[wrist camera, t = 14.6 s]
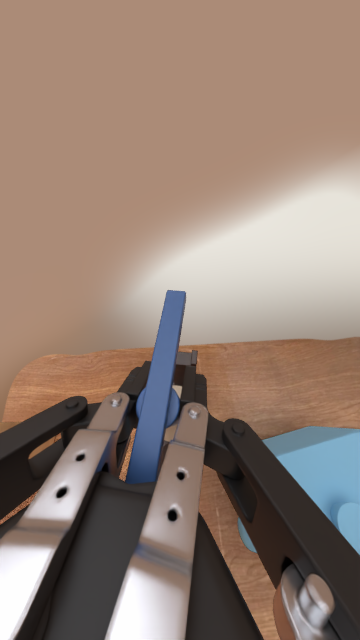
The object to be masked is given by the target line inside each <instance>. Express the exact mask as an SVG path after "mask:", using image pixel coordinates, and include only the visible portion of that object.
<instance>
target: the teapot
mask: <svg viewBox="0 0 360 640" xmlns="http://www.w3.org/2000/svg"><path fill="white" fill-rule="evenodd" d="M262 441H263V442H264V444H265V445H266V446H267V447H268V448H269V450H270V451H271V452H272V453H273V454H274V455H275V457H276V458H277V459H278V460H279V461H280V462H281V464H282V465H283V466H284V467H285V468H286V469H287V471H288V472H289V473H290V474H291V475H292V476H293V478H294V479H295V480H296V481H297V482H298V483H299V485H300V486H301V487H302V488H303V489H304V491H305V492H306V493H307V494H308V495H309V496H310V498H311V499H312V500H313V501H314V502H315V503H316V505H317V506H318V507H319V508H320V509H321V510H322V512H323V513H324V514H325V515H326V516H327V517H328V519H329V520H330V521H331V522H332V523H333V524H334V526H335V527H336V528H337V529H338V530H339V532H340V533H341V534H342V535H343V536H344V537H345V539H346V540H347V541H348V542H349V543H350V544H351V546H352V547H353V548H354V549H355V550H356V551H357V553H358V554H359V555H360V429H348V428H333V427H317V426H309V427H305V428H302V429H298V430H295V431H291V432H288V433H285V434H281V435H278V436H274V437H271V438H268V439H264V440H262ZM238 530H239V533H240V537H241V539H242V541H243V543H244V545H245V546H246V547H247V548H248V549H249V550H250V551H252V552H255V553H257V552H256V550H255V548H254V546H253V544H252V542H251V540H250V538H249V536H248V534H247V532H246V530H245V528H244V526H243V524H242V522H241V520H240V518H239V517H238Z"/></svg>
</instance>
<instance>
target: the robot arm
mask: <svg viewBox="0 0 360 640" xmlns="http://www.w3.org/2000/svg"><path fill="white" fill-rule="evenodd" d="M150 366H151V361H145V362H144V364H143V366H142V367H136V368H135V369H133V370H132V371H131V372H130V374H129V376H128V377H127V378H126V380H125V381H124V383H123V384H122V385H121V387H120V388H119V390H118V391H117V393H112V394H110V395H108V396H107V397H106V398H105V399H104V400H103V402H101V403H93V404H87V399H86V398H85V397H83V396H74V397H70V398H68V399H66V400H64V401H62V402H60V403H58V404H56V405H54V406H52V407H50V408H48V409H46V410H44V411H42V412H41V413H39V414H37V415H35V416H33V417H31V418H29V419H27V420H25V421H23V422H21V423H19V424H17V425H15V426H13V427H12V428H10V429H8V430H6V431H4V432H2V433H0V520H1V519H2V518H4V517H5V516H6V515H7V514H9V513H10V512H11V511H12V510H14V509H15V508H16V507H17V506H19V505H20V504H21V503H22V502H24V501H25V500H26V499H27V498H29V497H30V496H31V495H32V494H34V493H35V492H36V491H37V490H39V489H40V490H39V491H38V493H37V494H36V496H35V497H34V499H33V501H32V502H31V504H29V505H28V506H26V507H25V508H24V509H22V510H21V511H19V512H18V513H17V514H15V515H14V516H12V517H11V518H9V519H8V520H7V521H5V522H4V523H2V524H1V525H0V640H264V639H263V637H262V635H261V633H260V631H259V629H258V627H257V625H256V623H255V621H254V619H253V617H252V615H251V612H250V610H249V608H248V606H247V604H246V602H245V600H244V598H243V596H242V594H241V592H240V590H239V588H238V586H237V584H236V582H235V580H234V578H233V576H232V574H231V572H230V570H229V568H228V566H227V564H226V562H225V560H224V558H223V556H222V554H221V552H220V550H219V548H218V546H217V544H216V542H215V540H214V538H213V536H212V534H211V532H210V530H209V528H208V526H207V524H206V522H205V520H204V519H203V517H202V516H201V514H200V513H199V511H198V509H199V499H200V490H201V481H202V471H203V464H205V465H206V466H208V467H210V468H212V469H214V470H216V471H217V475H218V477H219V479H220V481H221V483H222V485H223V487H224V489H225V491H226V493H227V495H228V497H229V499H230V501H231V502H232V504H233V506H234V508H235V510H236V512H237V514H238V516H239V518H240V520H241V522H242V524H243V526H244V528H245V530H246V532H247V534H248V536H249V538H250V540H251V542H252V544H253V546H254V548H255V550H256V552H257V554H258V555H259V557H260V559H261V561H262V563H263V565H264V567H265V569H266V571H267V573H268V575H269V577H270V579H271V581H272V583H273V585H274V587H275V589H276V592H275V595H274V600H273V613H274V620H275V624H276V628H277V631H278V634H279V637H280V640H360V555H359V554H358V553H357V551H356V550H355V549H354V548H353V547H352V546H351V544H350V543H349V542H348V541H347V540H346V539H345V537H344V536H343V535H342V534H341V533H340V532H339V530H338V529H337V528H336V527H335V526H334V524H333V523H332V522H331V521H330V520H329V519H328V517H327V516H326V515H325V514H324V513H323V512H322V510H321V509H320V508H319V507H318V506H317V505H316V503H315V502H314V501H313V500H312V499H311V498H310V496H309V495H308V494H307V493H306V492H305V491H304V489H303V488H302V487H301V486H300V485H299V483H298V482H297V481H296V480H295V479H294V478H293V476H292V475H291V474H290V473H289V472H288V471H287V469H286V468H285V467H284V466H283V465H282V464H281V462H280V461H279V460H278V459H277V458H276V457H275V455H274V454H273V453H272V452H271V451H270V450H269V448H268V447H267V446H266V445H265V444H264V442H263V441H262V440H261V439H260V438H259V437H258V435H257V434H256V433H255V432H254V431H253V430H252V428H251V427H250V426H249V425H248V424H247V423H245V422H244V421H242V420H239V419H234V418H232V419H228V420H226V421H225V422H221V421H219V420H217V419H215V418H214V417H212V416H211V415H210V413H209V412H208V410H207V386H206V385H207V384H206V378H205V377H204V375H201V374H196V366H187V365H186V369H185V374H184V380H183V385H182V391H181V396H180V412H179V419H178V424H177V428H176V431H175V434H174V438H173V440H170V443H169V445H168V449H167V452H166V455H165V458H164V461H163V465H162V468H161V471H160V474H159V477H158V481H153V482H144V483H136V484H128V483H126V482H124V481H122V480H121V479H119V476H120V472H121V469H122V465H123V462H124V459H125V456H126V452H127V449H128V446H129V443H130V439H131V432H132V430H133V428H137V425H138V421H139V419H138V417H137V413H136V403H137V399H138V397H139V395H140V393H141V392H142V390H143V389H144V388H146V384H147V380H148V375H149V371H150ZM59 433H61V439H59V440H58V441H56V442H55V443H53V444H52V445H50V446H49V447H47V448H46V449H44V450H43V451H41V452H40V453H38V454H37V455H35V456H33V457H32V458H30V459H29V456H30V454H31V453H32V452H33V451H34V450H35V449H36V448H37V447H39V446H40V445H42V444H44V443H45V442H47V441H48V440H50V439H51V438H53V437H54V436H56V435H58V434H59Z"/></svg>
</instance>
